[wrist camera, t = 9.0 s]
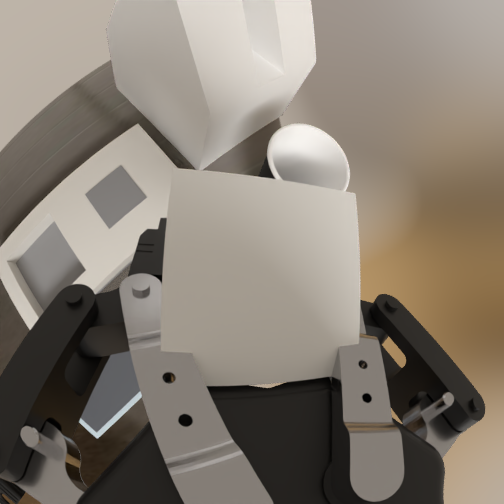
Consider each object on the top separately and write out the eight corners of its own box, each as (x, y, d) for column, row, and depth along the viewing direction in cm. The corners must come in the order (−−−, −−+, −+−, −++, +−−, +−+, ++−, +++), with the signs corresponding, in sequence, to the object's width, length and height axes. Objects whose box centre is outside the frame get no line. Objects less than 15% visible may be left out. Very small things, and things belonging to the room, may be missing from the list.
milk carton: (116, 88, 30) (101, -63, 6) (198, 46, 34) (230, -80, 10) (198, 172, 31) (252, -33, 7) (282, 115, 35) (375, -21, 11)
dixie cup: (259, 244, 31) (298, 218, 21) (227, 184, 31) (251, 134, 21) (312, 217, 33) (364, 186, 23) (282, 163, 34) (321, 116, 23)
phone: (99, 435, 23) (97, 438, 22) (57, 394, 22) (54, 397, 21) (169, 368, 27) (168, 370, 26) (123, 322, 26) (121, 323, 25)
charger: (252, 330, 15) (356, 375, 6) (174, 329, 14) (162, 389, 5) (254, 252, 16) (354, 193, 7) (177, 247, 15) (173, 168, 5)
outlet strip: (51, 341, 23) (40, 345, 20) (4, 262, 22) (-9, 258, 19) (199, 204, 30) (202, 194, 27) (140, 136, 29) (137, 122, 26)
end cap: (0, 446, 16) (-19, 463, 10) (35, 478, 17) (19, 500, 10) (-9, 468, 13) (-25, 483, 7) (21, 497, 14) (9, 515, 8)
